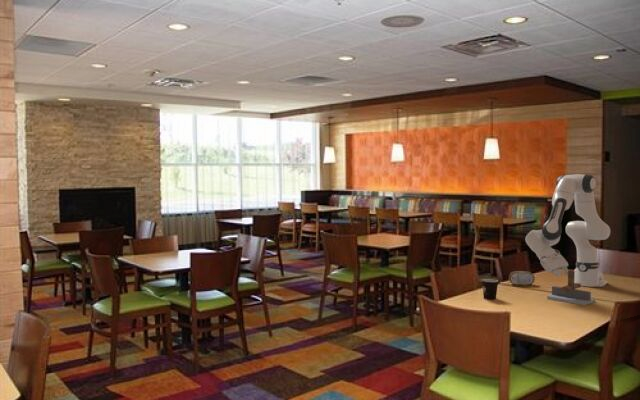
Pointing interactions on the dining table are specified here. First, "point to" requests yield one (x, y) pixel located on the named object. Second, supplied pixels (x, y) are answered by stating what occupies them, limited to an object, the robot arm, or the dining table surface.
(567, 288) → the brown t-shaped block
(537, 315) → the dining table surface
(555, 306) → the dining table surface
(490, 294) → the coffee mug
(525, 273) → the tin
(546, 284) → the dining table surface
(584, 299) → the ridge stand
